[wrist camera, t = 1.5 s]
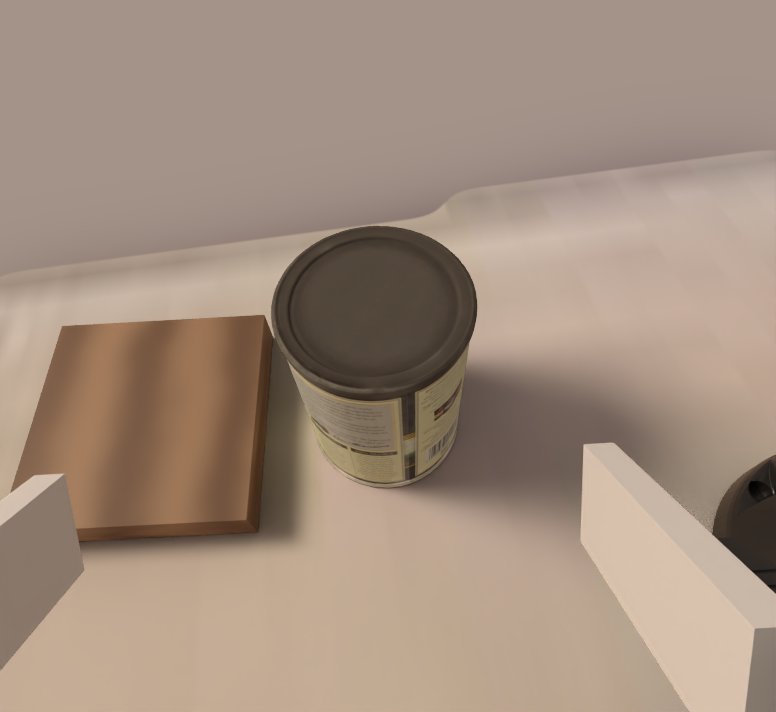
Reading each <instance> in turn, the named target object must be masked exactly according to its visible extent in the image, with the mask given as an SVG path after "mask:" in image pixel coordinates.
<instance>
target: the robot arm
mask: <svg viewBox="0 0 776 712" xmlns="http://www.w3.org/2000/svg"><path fill="white" fill-rule="evenodd" d="M581 543H582V544H583V546H584V548H585V549H586V551H587V552H588V554H589V555H590V557H591V559H592V560H593V562H594V563H595V565H596V566H597V568H598V570H599V571H600V573H601V574H602V576H603V577H604V579H605V580H606V582H607V584H608V585H609V587H610V588H611V590H612V591H613V593H614V595H615V596H616V598H617V599H618V601H619V602H620V604H621V606H622V607H623V609H624V610H625V612H626V613H627V615H628V617H629V618H630V620H631V621H632V623H633V624H634V626H635V628H636V629H637V631H638V632H639V634H640V635H641V637H642V638H643V640H644V642H645V643H646V645H647V646H648V648H649V649H650V651H651V653H652V654H653V656H654V657H655V659H656V660H657V662H658V664H659V665H660V667H661V668H662V670H663V671H664V673H665V675H666V676H667V678H668V679H669V681H670V682H671V684H672V686H673V687H674V689H675V690H676V692H677V693H678V695H679V697H680V698H681V700H682V701H683V703H684V704H685V706H686V707H687V709H688V711H689V712H776V455H774V456H772V457H770V458H768V459H766V460H764V461H763V462H761V463H760V464H758V465H757V466H755V467H754V468H752V469H750V470H749V471H748V472H746V473H745V474H743V475H742V476H741V477H740V478H738V479H737V480H736V481H735V482H734V483H733V484H732V485H731V487H730V488H729V489H728V491H727V492H726V494H725V495H724V497H723V499H722V501H721V503H720V505H719V507H718V510H717V513H716V516H715V520H714V526H713V534H711V533H710V532H709V531H708V530H707V529H706V528H705V527H704V526H703V525H701V524H700V523H699V522H698V521H697V520H696V519H695V518H694V517H693V516H692V515H691V514H690V513H689V512H688V511H686V510H685V509H684V508H683V507H682V506H681V505H680V504H679V503H678V502H677V501H676V500H675V499H674V498H673V497H671V496H670V495H669V494H668V493H667V492H666V491H665V490H664V489H663V488H662V487H661V486H660V485H659V484H658V483H656V482H655V481H654V480H653V479H652V478H651V477H650V476H649V475H648V474H647V473H646V472H645V471H644V470H643V469H641V468H640V467H639V466H638V465H637V464H636V463H635V462H634V461H633V460H632V459H631V458H630V457H629V456H628V455H626V454H625V453H624V452H623V451H622V450H621V449H620V448H619V447H618V446H617V445H616V444H615V443H597V444H584V448H583V479H582V510H581ZM83 571H84V565H83V560H82V555H81V551H80V546H79V541H78V536H77V531H76V526H75V521H74V516H73V511H72V506H71V501H70V496H69V491H68V486H67V481H66V476H65V474H48V475H34V476H33V477H31V478H30V479H29V480H27V481H26V482H25V483H23V484H22V485H21V486H19V487H18V488H17V489H15V490H14V491H13V492H11V493H10V494H9V495H7V496H6V497H5V498H3V499H2V500H1V501H0V671H1V669H2V668H3V667H4V666H5V665H6V663H7V662H8V661H9V660H10V659H11V657H12V656H13V655H14V654H15V653H16V651H17V650H18V649H19V648H20V647H21V645H22V644H23V643H24V642H25V641H26V639H27V638H28V637H29V636H30V635H31V633H32V632H33V631H34V630H35V629H36V627H37V626H38V625H39V624H40V623H41V621H42V620H43V619H44V618H45V617H46V615H47V614H48V613H49V612H50V611H51V609H52V608H53V607H54V606H55V605H56V603H57V602H58V601H59V600H60V599H61V597H62V596H63V595H64V594H65V593H66V591H67V590H68V589H69V588H70V587H71V585H72V584H73V583H74V582H75V581H76V579H77V578H78V577H79V576H80V575H81V573H82V572H83Z"/></svg>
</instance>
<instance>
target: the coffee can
mask: <svg viewBox="0 0 776 712" xmlns="http://www.w3.org/2000/svg"><path fill="white" fill-rule="evenodd" d="M476 317H477V298H476V291H475V287H474V284H473V281H472V279H471V277H470V275H469V273H468V271H467V270H466V268H465V266H464V265H463V264H462V263H461V261H460V260H459V259H458V258H457V257H456V256H455V255H454V254H453V253H452V252H451V251H449V250H448V249H447V248H446V247H444V246H443V245H442V244H440V243H439V242H437V241H436V240H434V239H432V238H430V237H428V236H425V235H423V234H421V233H418V232H414V231H411V230H407V229H403V228H397V227H389V226H368V227H360V228H353V229H349V230H346V231H342V232H339V233H336V234H334V235H331V236H329V237H326V238H324V239H322V240H320V241H318V242H317V243H315V244H313V245H312V246H310V247H309V248H308V249H306V250H305V251H304V252H302V253H301V254H300V255H299V256H298V257H297V258H296V259H295V260H294V261H293V262H292V263H291V264H290V265H289V266H288V268H287V269H286V270H285V272H284V273H283V275H282V277H281V279H280V281H279V282H278V285H277V287H276V289H275V292H274V296H273V301H272V306H271V320H272V328H273V331H274V335H275V338H276V341H277V343H278V345H279V347H280V349H281V351H282V353H283V354H284V356H285V357H286V359H287V361H288V364H289V366H290V369H291V371H292V374H293V377H294V379H295V382H296V384H297V387H298V389H299V392H300V394H301V397H302V400H303V402H304V405H305V408H306V410H307V412H308V415H309V418H310V420H311V423H312V425H313V428H314V430H315V433H316V437H317V441H318V444H319V446H320V449H321V451H322V453H323V454H324V456H325V458H326V459H327V460H328V462H329V463H330V464H331V465H332V466H333V467H334V468H335V469H336V470H337V471H338V472H340V473H341V474H343V475H344V476H345V477H347V478H349V479H351V480H353V481H355V482H358V483H360V484H364V485H368V486H371V487H385V488H389V487H399V486H403V485H407V484H410V483H413V482H415V481H418V480H420V479H422V478H424V477H425V476H427V475H429V474H430V473H431V472H432V471H433V470H435V469H436V468H437V467H438V466H439V465H440V464H441V463H442V461H443V460H444V459H445V458H446V456H447V455H448V453H449V451H450V450H451V448H452V446H453V443H454V441H455V438H456V434H457V429H458V414H459V408H460V402H461V394H462V388H463V381H464V375H465V368H466V362H467V355H468V348H469V341H470V339H471V337H472V334H473V331H474V327H475V322H476Z"/></svg>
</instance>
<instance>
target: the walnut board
mask: <svg viewBox="0 0 776 712" xmlns="http://www.w3.org/2000/svg"><path fill="white" fill-rule="evenodd" d="M272 343H273V336H272V333H271V331H270V328H269V326H268V323H267V321H266V318H265V315H255V316H237V317H219V318H201V319H183V320H165V321H147V322H129V323H111V324H93V325H75V326H62V329H61V332H60V335H59V338H58V341H57V345H56V348H55V351H54V354H53V357H52V361H51V364H50V367H49V370H48V374H47V377H46V380H45V383H44V386H43V390H42V393H41V396H40V399H39V402H38V406H37V409H36V412H35V415H34V419H33V422H32V425H31V428H30V431H29V435H28V438H27V441H26V444H25V447H24V451H23V454H22V457H21V460H20V463H19V467H18V470H17V473H16V476H15V480H14V483H13V486H12V489H11V492H13V491H14V490H15V489H17V488H18V487H19V486H21V485H22V484H23V483H25V482H26V481H27V480H29V479H30V478H31V477H33V476H34V475H48V474H65V476H66V481H67V486H68V491H69V496H70V501H71V506H72V511H73V516H74V521H75V526H76V531H77V536H78V541H97V540H116V539H135V538H155V537H174V536H194V535H213V534H232V533H252V532H258V526H259V513H260V500H261V487H262V474H263V461H264V448H265V435H266V422H267V409H268V395H269V382H270V369H271V356H272ZM11 492H10V493H11Z"/></svg>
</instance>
